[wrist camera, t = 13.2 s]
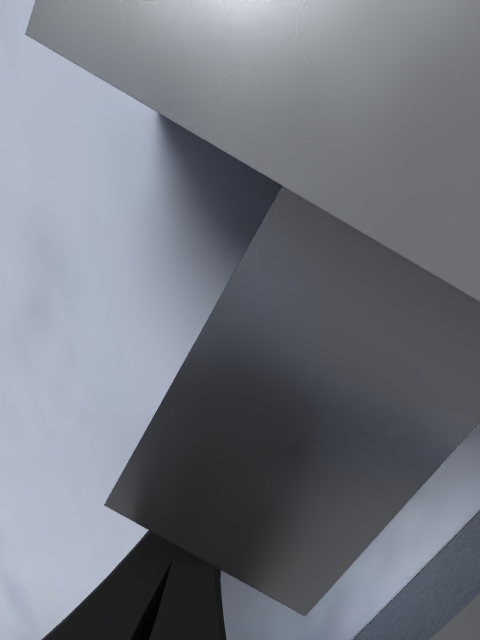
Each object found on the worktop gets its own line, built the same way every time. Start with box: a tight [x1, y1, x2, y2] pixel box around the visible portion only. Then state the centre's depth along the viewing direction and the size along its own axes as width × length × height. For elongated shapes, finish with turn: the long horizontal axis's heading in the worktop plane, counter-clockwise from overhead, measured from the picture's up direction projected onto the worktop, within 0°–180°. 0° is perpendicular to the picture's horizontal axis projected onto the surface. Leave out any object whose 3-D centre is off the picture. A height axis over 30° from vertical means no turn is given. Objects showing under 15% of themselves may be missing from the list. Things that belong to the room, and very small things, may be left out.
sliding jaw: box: [25, 0, 480, 616], centre depth 7 cm, size 10×9×4 cm
